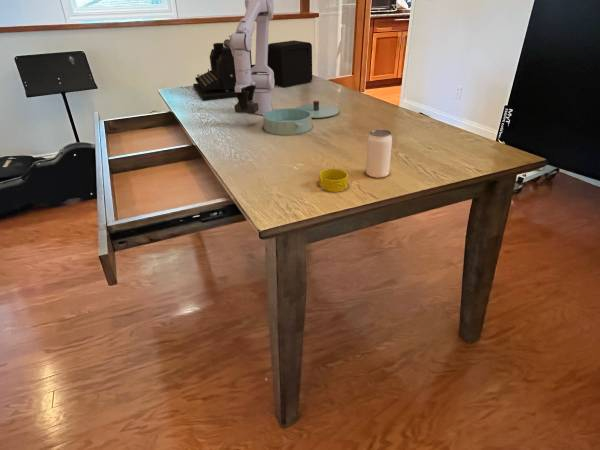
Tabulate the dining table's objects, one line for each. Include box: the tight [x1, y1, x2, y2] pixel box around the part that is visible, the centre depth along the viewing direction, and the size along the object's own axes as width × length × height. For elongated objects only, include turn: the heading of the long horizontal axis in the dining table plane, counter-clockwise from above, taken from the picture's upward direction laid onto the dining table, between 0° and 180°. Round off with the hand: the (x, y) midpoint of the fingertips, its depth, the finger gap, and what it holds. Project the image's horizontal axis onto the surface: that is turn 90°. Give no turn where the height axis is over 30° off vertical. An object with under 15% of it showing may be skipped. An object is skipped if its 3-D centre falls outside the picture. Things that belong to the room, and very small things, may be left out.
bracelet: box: [318, 168, 349, 193], centre depth 110 cm, size 7×8×3 cm
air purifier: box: [267, 40, 313, 88], centre depth 218 cm, size 20×15×20 cm
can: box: [365, 128, 393, 179], centre depth 114 cm, size 6×6×12 cm
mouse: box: [233, 100, 259, 114], centre depth 156 cm, size 8×5×4 cm, turn 76°
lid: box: [296, 100, 340, 119], centre depth 171 cm, size 19×19×5 cm
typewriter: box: [192, 35, 253, 102], centre depth 204 cm, size 31×27×25 cm
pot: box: [262, 107, 313, 136], centre depth 155 cm, size 18×23×5 cm
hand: (246, 107), depth 156 cm, fingers closed on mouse, 5 cm apart
